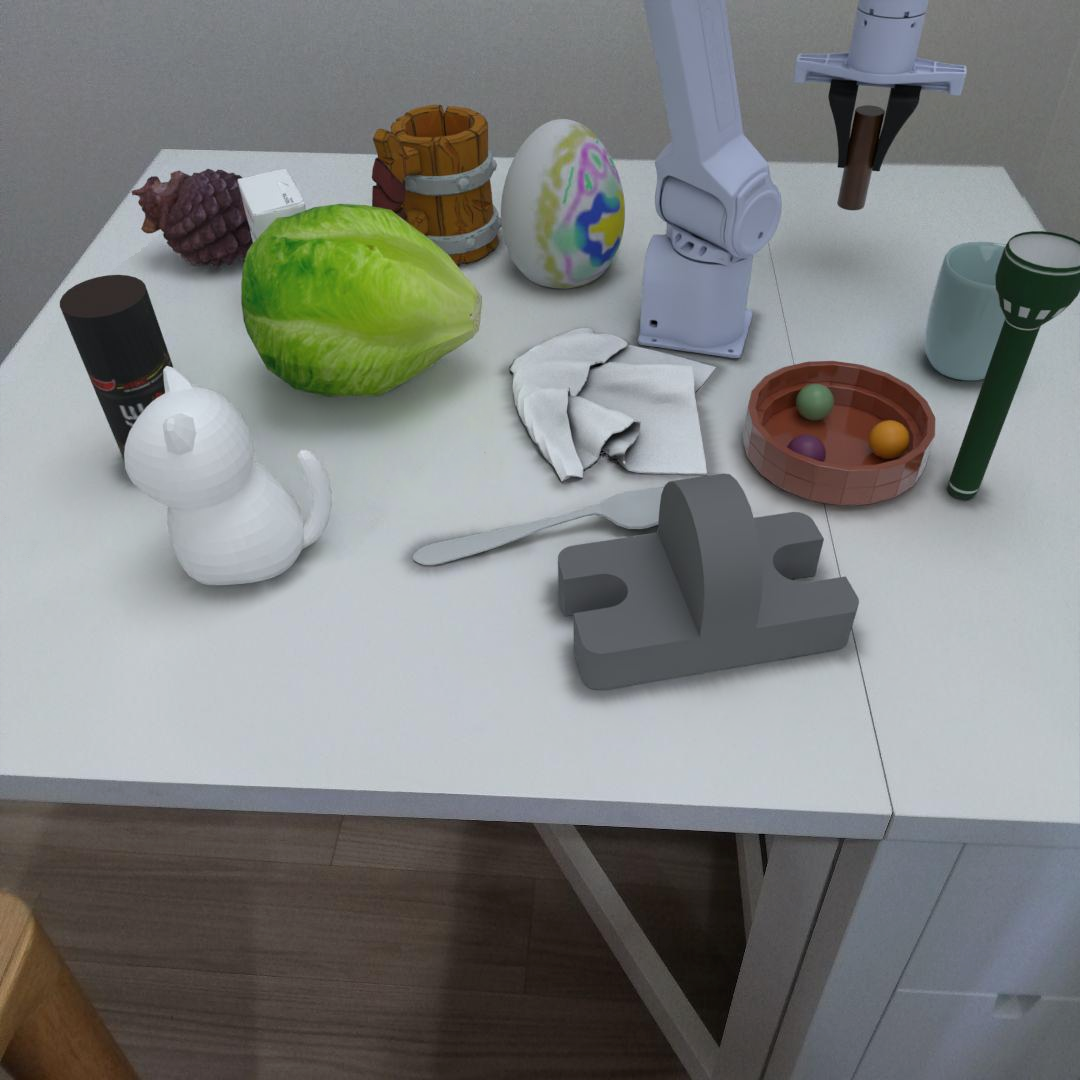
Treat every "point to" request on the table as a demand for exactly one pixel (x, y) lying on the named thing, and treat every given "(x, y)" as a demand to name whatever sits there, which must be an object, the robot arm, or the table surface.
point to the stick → (860, 157)
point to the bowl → (837, 433)
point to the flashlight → (1015, 339)
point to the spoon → (620, 509)
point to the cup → (965, 312)
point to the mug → (440, 178)
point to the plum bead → (808, 447)
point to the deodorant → (118, 346)
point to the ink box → (269, 199)
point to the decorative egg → (562, 206)
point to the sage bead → (814, 402)
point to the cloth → (610, 404)
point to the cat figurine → (220, 487)
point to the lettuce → (353, 300)
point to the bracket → (701, 590)
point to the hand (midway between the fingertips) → (859, 165)
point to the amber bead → (889, 439)
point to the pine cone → (198, 215)
